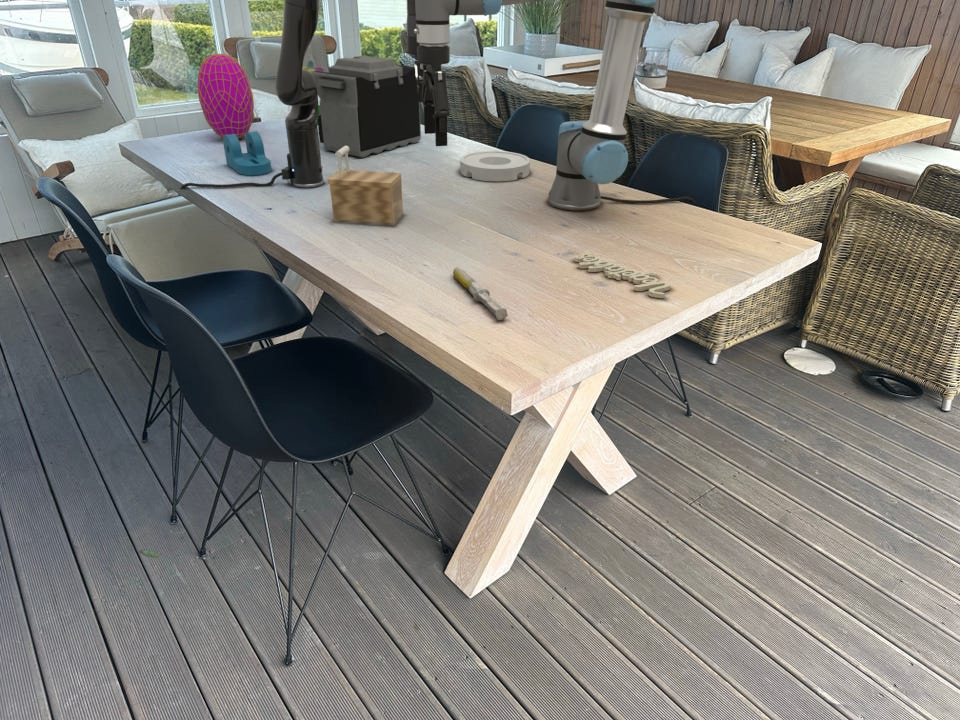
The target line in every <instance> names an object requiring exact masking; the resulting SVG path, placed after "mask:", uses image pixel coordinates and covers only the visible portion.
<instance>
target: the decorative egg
mask: <svg viewBox="0 0 960 720" xmlns="http://www.w3.org/2000/svg"><path fill="white" fill-rule="evenodd" d="M197 94H198V101H199V104H200V107H201V110H202V113H203V116H204V119H205V120H206V122H207V124H208V126H209V127H210V128H211V130H212V131H213V132H214V133H215V134H216V135H217V136H218V137H220V138H221V139H223V137H224V135H230V134H235V135H236V136H237V138H238V140H239V139H242V138H243V137H246V133H247V132H250V129H251V126H252V124H253V119H254V111H255V110H254V108H255V107H254V106H255V101H254V95H253V91H252V87H251V84H250V81H249V78H248V75H247V74H246V71H245V69H244V68H243V66H242V65H241V64H240V63H239V62H238V60H237V59H236V58H234V57H233V56H231V55H229V54H225V53H214V54H211V55H209V56H206V57H205V59H204V60H203V61H202V63H201V64H200V67H199V70H198V74H197Z"/></svg>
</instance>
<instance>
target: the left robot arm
mask: <svg viewBox="0 0 960 720" xmlns="http://www.w3.org/2000/svg"><path fill="white" fill-rule="evenodd" d="M320 4H321V3H320V0H284V1H283V12H282V13H283V14H282V16H283V18H282V30H281V31H282V32H281V41H280V42H281V43H280V50H279V58H278V63H277V69H276V73H275V74H276V75H275V83H274V87H275V92H276V96H277V98H278V99H279V101H280V102H281V103H282V104H283V105H285V106H289V107H290V106H291V107H290V108H291V109H290V112H289V113H288V114H287V115H286V117H285V119H284V123H285V131H286V138H287V146H288V153H287V154H286V161H287V166H286V167H283V168H281V170H280V171H281V172H278V173H276V174H275V175H274V176H273V177H272V178H271V180H270V181H269V182H266V183H260V182H259V183H258V182H239V183H229V184H213V183H197V182H186V183H184V184H182V186H180V187H179V190H184V189H185V188H187V187H197V188H215V189H216V188H217V189H219V188H223V189H224V188H225V189H226V188H237V187H247V186H250V187H251V186H252V187H270V186H272V185H273V184H274V183H275V181H276V179H277V178H279V177H281V179H282V180H285V181H286V180H287V181H289V184H290V186H294V187H296V188H300V189H301V188H303V189H310V188H317V187H320V186H322V185H324V184H325V182H324V175H323V171H324V169H323V165H322V157H321V147H320V139H319V130H318V124H317V119H318V116H319V108H318V105H319V96H318V92H317V85H316V81H315V79H314V77H313V75H312V74H311V73H310V72H309V71H308V70H306V69H302V68H303V67H304V60H305V56H306V53H307V51H308V48H309V47H310V44H311V43H312V40H313V39H314V35H315V34H316V30H317V28H318V24H319V23H318V22H319V13H320ZM405 25H406V51H407V54H409V55H414V56H415V55H416V59H417V47H418V46H419V45H420V44H419V43H418V42H417V33H414V29H417V27H416V7H415V0H406V22H405ZM413 65H414V66H413V67H414V68H415V73H416V79H417V80H418V82H417V86H418V101H419V102H420V103H423V102H422V99H421V98H422V85H423V64H420V63H418V61H417V60H413Z"/></svg>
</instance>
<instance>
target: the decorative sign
mask: <svg viewBox="0 0 960 720" xmlns="http://www.w3.org/2000/svg"><path fill="white" fill-rule="evenodd" d="M574 262H575V263H578V269H588V270H587V272H588V273H598V272H603V273H604V276H606V277H607V278H608V279H614V280H617V281H621V279H622V280H627V281H628V282H630V283H633V284H634V285H633V291H636V292H643V291H647V290H648V293H647V294H648V296H649V297H652V298H656V299H664V298H665V295H666V292H668V291H669V290H670V289H671V283H670V282H668V281H659V279H658V272H657V271H648V272H639V271H637V270H634V269H630V268H628V267H627V266H626V267H625V266H624V265H619V264H618V263H615V262H611V261H610V260H604V258H601V257H598V256H596V255H592V254H590V253H587V252H586V253H582V254H581V255H580V256H578V255H575V256H574Z"/></svg>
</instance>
